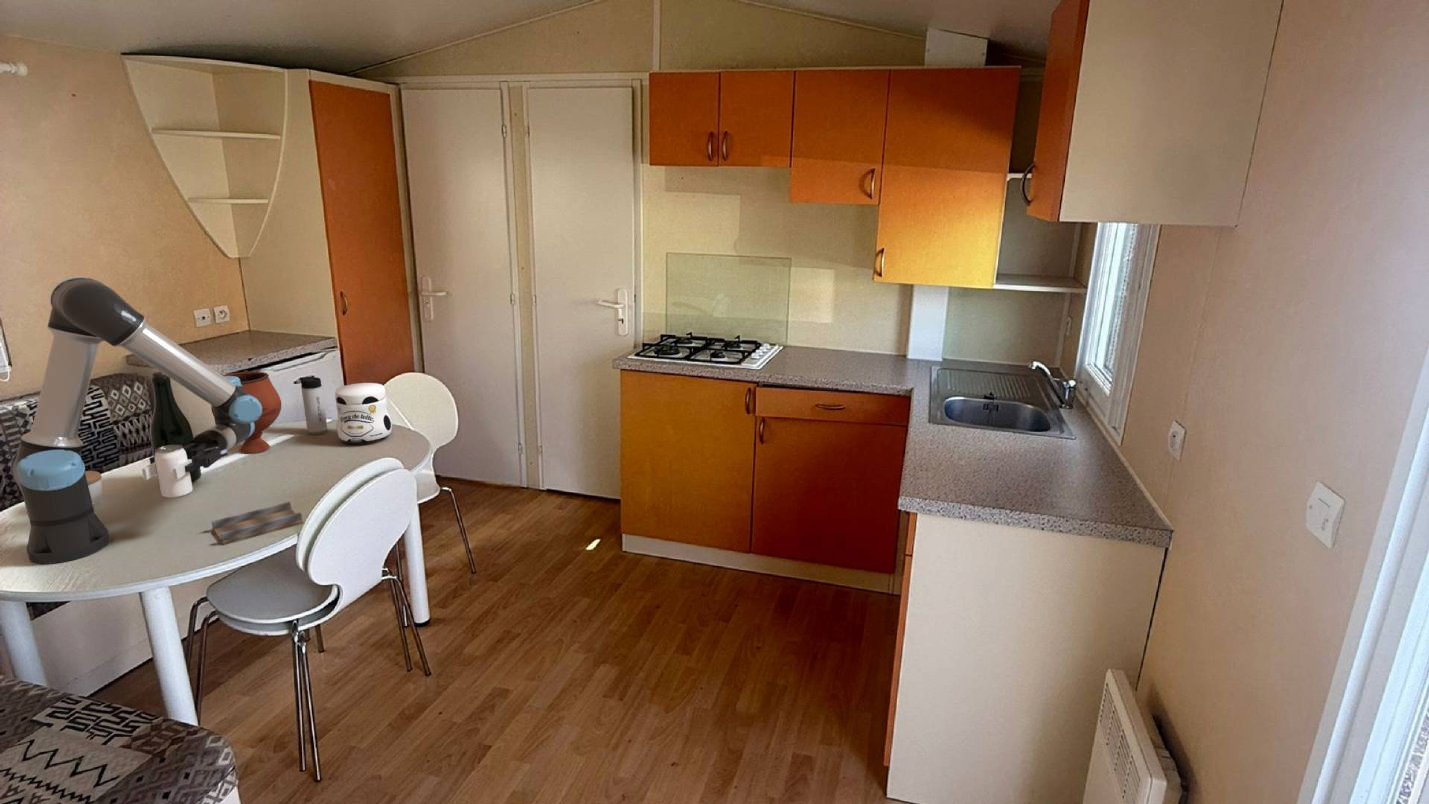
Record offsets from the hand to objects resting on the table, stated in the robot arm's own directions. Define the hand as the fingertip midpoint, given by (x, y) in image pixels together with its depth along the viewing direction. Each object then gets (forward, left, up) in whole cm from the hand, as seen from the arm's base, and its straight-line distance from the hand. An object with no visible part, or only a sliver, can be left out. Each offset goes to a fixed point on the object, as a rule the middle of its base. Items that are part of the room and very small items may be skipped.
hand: (160, 474), depth 182 cm
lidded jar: (-14, +40, -17) cm, 46 cm away
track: (+17, -7, -17) cm, 25 cm away
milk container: (+63, +44, -17) cm, 79 cm away
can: (+3, +4, -7) cm, 9 cm away
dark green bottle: (+9, +42, -17) cm, 46 cm away
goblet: (+32, +57, -17) cm, 68 cm away
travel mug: (+53, +62, -17) cm, 83 cm away
